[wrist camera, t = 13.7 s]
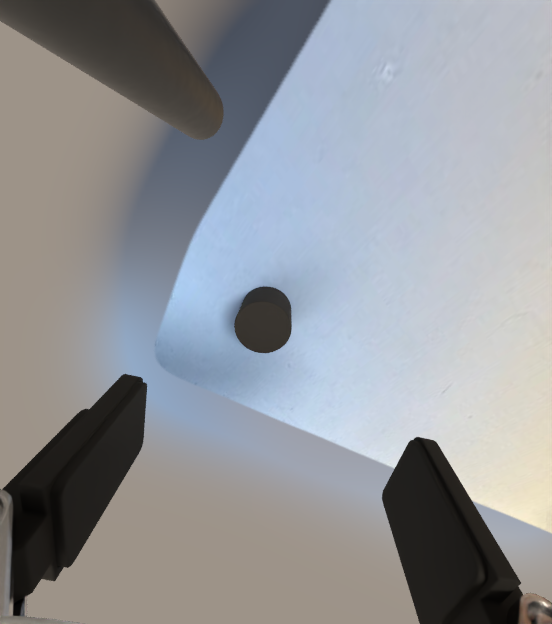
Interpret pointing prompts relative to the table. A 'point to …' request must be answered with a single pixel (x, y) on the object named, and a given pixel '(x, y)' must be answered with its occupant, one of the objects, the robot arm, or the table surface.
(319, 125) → the table surface
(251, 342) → the black cylinder
